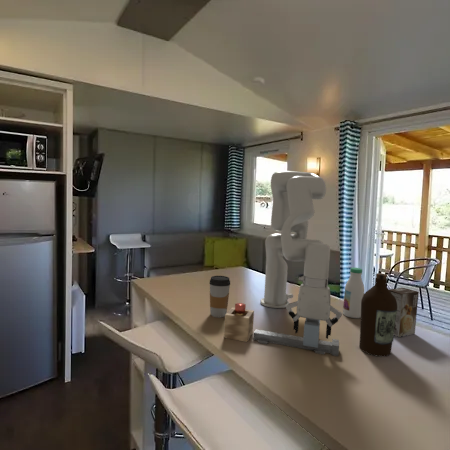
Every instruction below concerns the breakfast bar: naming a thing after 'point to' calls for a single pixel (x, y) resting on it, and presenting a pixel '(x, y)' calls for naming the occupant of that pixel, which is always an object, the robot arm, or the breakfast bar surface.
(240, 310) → the button
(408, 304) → the coffee box
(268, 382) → the breakfast bar surface
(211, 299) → the coffee cup
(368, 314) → the olive oil
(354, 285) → the milk bottle
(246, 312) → the small open wooden box
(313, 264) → the robot arm
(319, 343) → the guide rail
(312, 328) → the carriage
